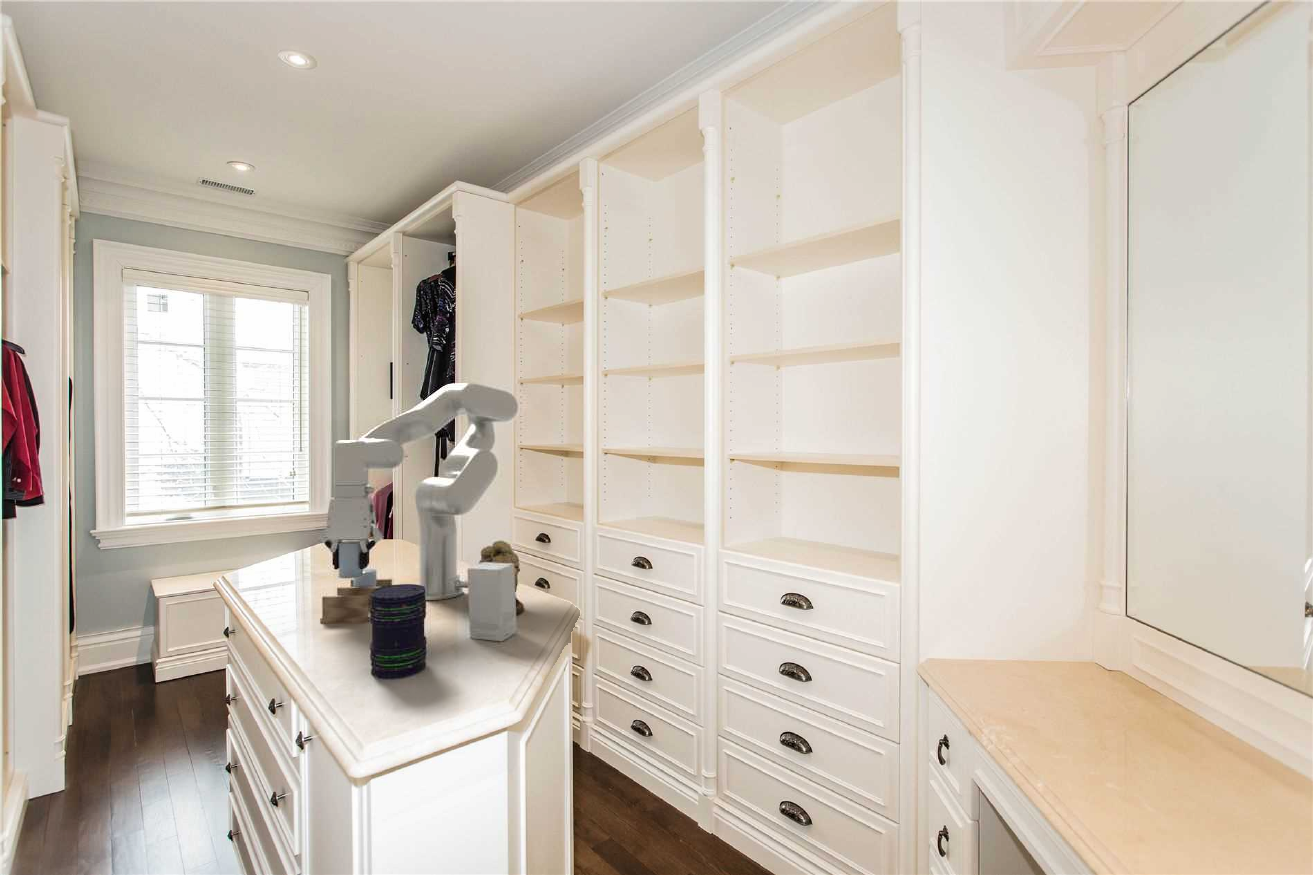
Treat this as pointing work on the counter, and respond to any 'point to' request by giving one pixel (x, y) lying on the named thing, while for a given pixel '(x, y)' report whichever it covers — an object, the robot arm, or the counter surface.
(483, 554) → the brown rough rounded piece
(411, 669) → the storage jar
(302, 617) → the counter surface
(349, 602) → the rack
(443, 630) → the counter surface
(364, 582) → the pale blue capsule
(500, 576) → the skincare box
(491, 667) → the counter surface
